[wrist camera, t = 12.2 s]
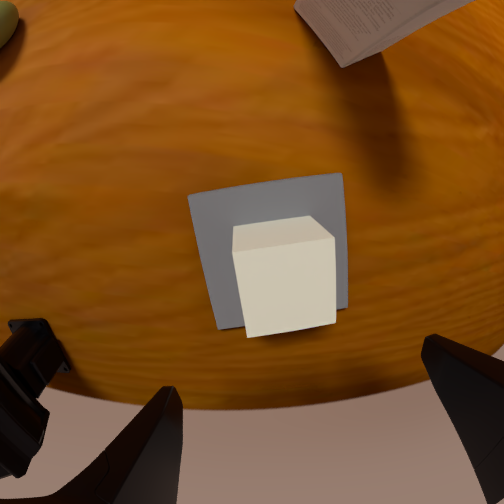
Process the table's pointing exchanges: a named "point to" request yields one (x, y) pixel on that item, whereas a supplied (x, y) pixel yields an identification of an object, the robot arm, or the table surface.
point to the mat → (255, 211)
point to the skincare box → (369, 23)
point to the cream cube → (285, 275)
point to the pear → (7, 21)
